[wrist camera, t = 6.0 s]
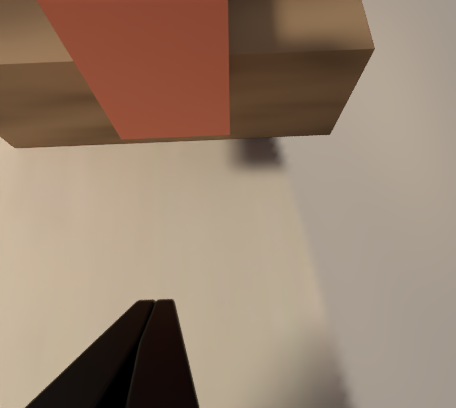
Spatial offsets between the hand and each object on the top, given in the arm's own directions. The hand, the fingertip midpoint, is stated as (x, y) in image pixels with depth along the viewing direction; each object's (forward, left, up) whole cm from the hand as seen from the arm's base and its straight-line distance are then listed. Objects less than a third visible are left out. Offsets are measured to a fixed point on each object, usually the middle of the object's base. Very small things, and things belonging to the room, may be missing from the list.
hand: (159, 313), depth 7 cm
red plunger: (+13, 0, -3) cm, 14 cm away
